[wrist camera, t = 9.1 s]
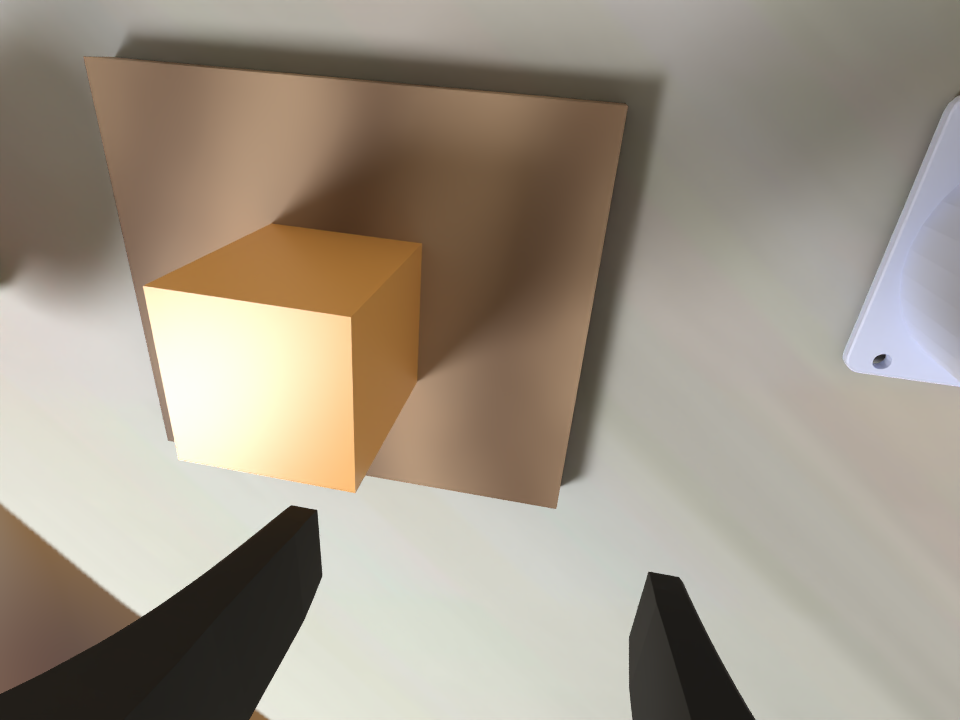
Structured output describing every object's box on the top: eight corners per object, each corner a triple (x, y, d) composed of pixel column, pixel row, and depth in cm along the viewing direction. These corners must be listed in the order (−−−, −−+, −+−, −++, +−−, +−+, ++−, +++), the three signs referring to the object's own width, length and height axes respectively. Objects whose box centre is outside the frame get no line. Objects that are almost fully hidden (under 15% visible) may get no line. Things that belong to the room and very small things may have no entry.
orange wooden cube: (422, 243, 18) (350, 317, 13) (417, 382, 20) (355, 493, 15) (271, 223, 18) (142, 285, 13) (283, 360, 21) (178, 459, 15)
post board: (625, 103, 16) (640, 119, 11) (557, 488, 23) (548, 607, 18) (112, 57, 18) (-71, 53, 13) (186, 424, 25) (82, 515, 20)
